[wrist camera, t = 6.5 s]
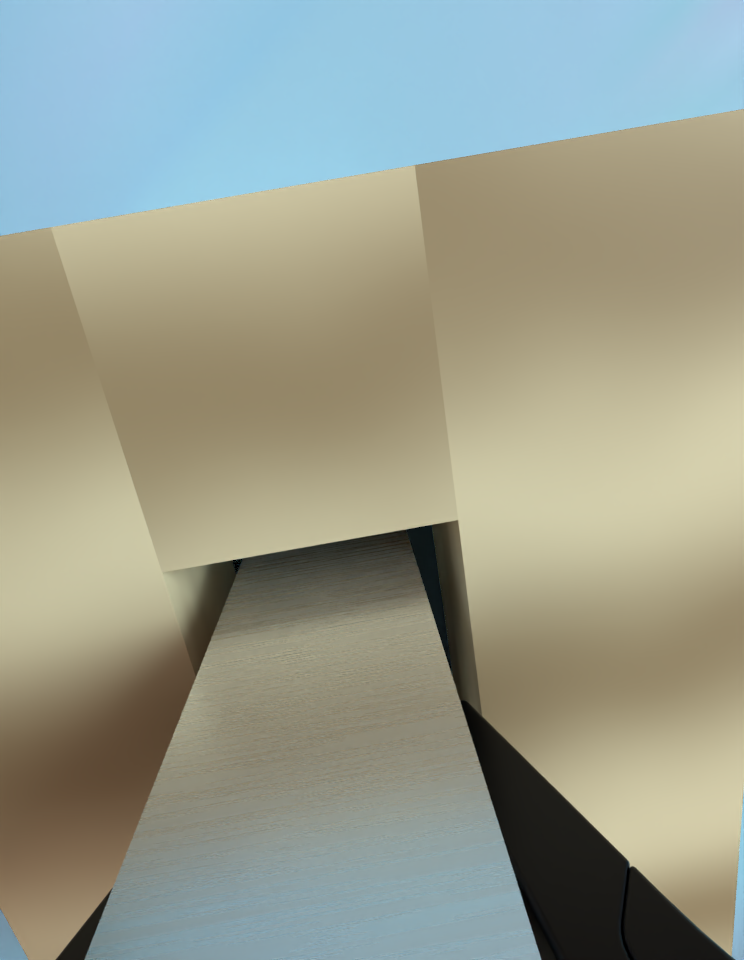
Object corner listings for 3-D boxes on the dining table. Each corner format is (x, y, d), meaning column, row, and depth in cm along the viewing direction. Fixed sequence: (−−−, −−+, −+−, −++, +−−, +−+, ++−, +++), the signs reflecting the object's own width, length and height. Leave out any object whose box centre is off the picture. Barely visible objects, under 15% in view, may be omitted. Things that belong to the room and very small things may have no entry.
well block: (641, 810, 15) (731, 955, 11) (148, 901, 15) (92, 1075, 11) (638, 174, 10) (793, 100, 6) (-106, 301, 10) (-340, 294, 6)
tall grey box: (440, 744, 11) (666, 1703, 3) (299, 770, 11) (211, 1790, 3) (406, 528, 10) (676, 1390, 2) (243, 558, 9) (-148, 1550, 2)
